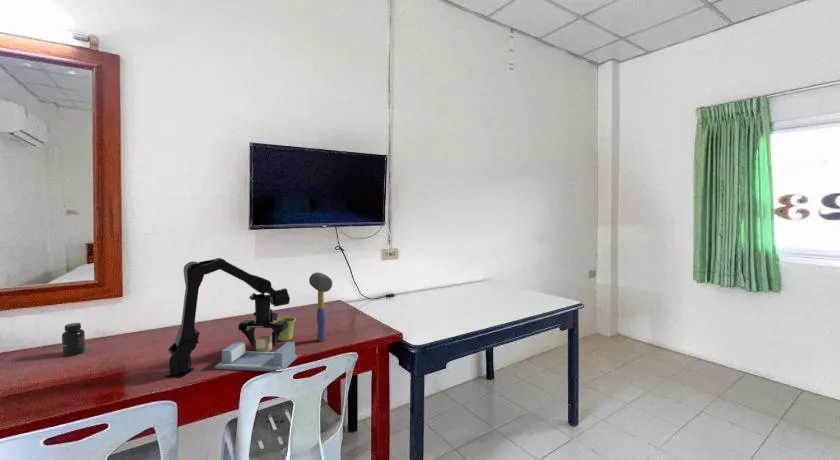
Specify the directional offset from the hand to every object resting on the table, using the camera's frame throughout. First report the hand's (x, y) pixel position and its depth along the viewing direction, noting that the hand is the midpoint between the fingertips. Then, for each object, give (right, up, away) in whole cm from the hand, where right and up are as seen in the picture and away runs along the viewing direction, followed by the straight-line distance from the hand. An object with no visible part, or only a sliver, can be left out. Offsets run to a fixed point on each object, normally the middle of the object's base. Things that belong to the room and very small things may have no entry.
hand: (263, 346), depth 153 cm
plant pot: (+3, -2, +14) cm, 15 cm away
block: (0, -2, 0) cm, 2 cm away
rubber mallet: (+20, -2, +13) cm, 24 cm away
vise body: (+2, -3, -11) cm, 11 cm away
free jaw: (-7, -2, -10) cm, 12 cm away
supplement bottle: (-77, -3, -1) cm, 77 cm away
